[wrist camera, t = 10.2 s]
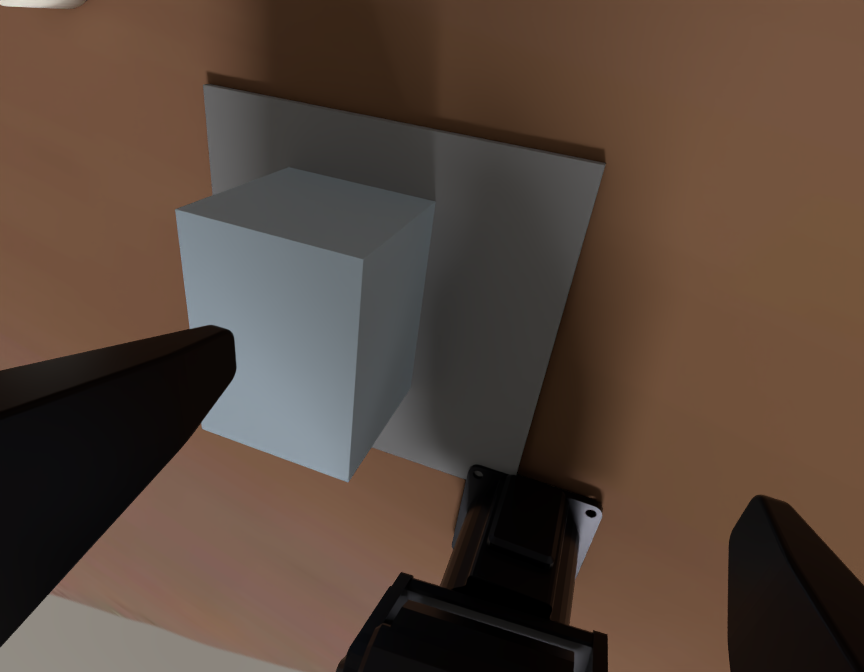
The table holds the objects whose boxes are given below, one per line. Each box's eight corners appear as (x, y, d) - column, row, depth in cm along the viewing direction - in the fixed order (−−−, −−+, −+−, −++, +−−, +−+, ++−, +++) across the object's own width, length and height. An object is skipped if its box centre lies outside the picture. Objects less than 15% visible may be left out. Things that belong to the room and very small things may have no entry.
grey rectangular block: (410, 387, 25) (348, 482, 20) (290, 350, 27) (202, 429, 21) (435, 201, 21) (363, 259, 15) (288, 167, 22) (175, 209, 17)
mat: (512, 489, 27) (510, 494, 27) (234, 394, 30) (230, 398, 30) (605, 163, 19) (605, 165, 18) (209, 83, 22) (203, 84, 22)
